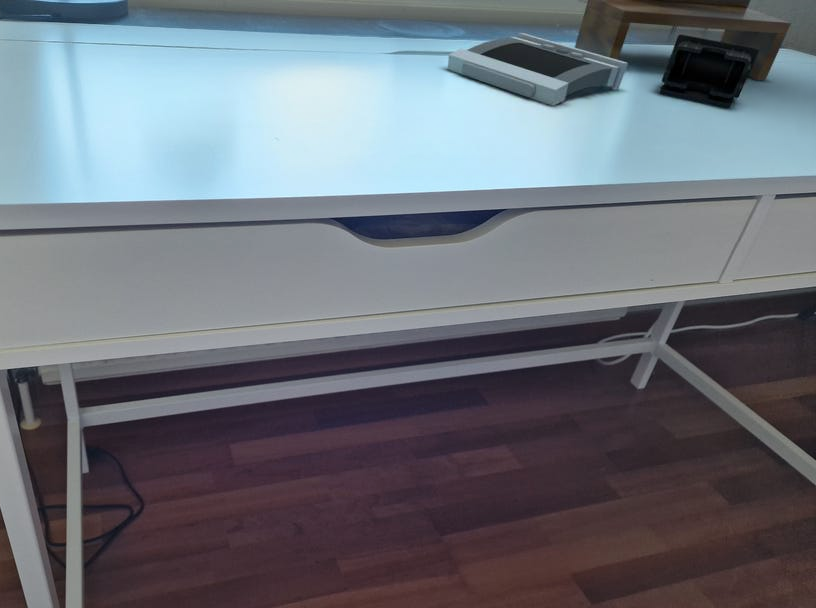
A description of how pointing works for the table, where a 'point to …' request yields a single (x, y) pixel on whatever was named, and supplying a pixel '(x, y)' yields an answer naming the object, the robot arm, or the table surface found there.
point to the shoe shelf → (683, 25)
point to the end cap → (707, 70)
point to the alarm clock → (537, 67)
